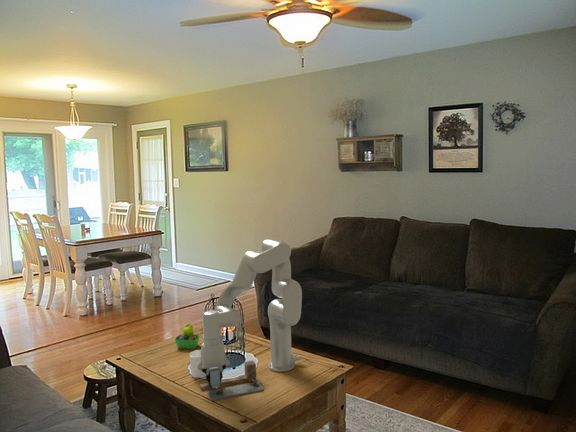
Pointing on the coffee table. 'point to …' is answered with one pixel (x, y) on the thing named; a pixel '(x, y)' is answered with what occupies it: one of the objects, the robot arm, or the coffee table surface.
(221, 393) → the bolt plate
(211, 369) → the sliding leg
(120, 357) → the coffee table surface
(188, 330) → the fruit basket
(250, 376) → the beam
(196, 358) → the white cup
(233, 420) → the coffee table surface
